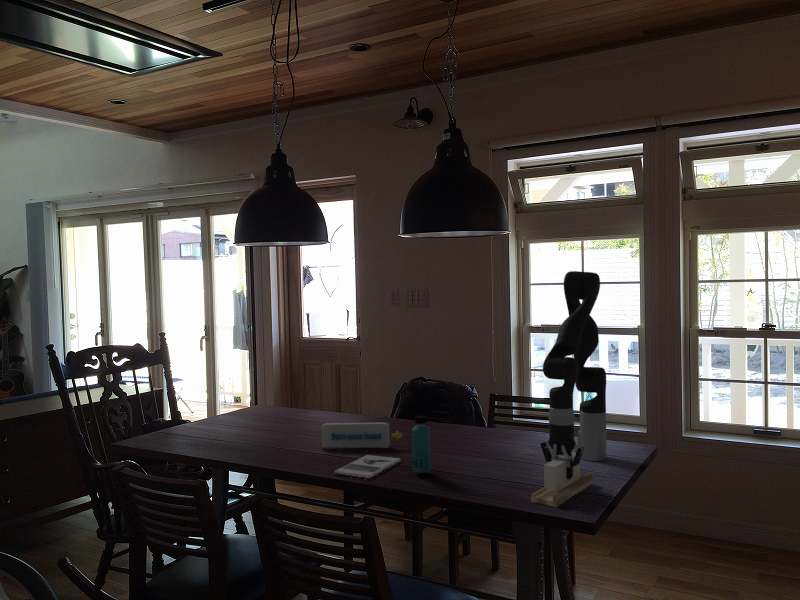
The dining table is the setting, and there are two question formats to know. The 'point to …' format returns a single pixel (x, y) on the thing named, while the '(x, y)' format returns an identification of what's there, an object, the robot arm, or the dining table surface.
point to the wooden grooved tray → (561, 491)
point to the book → (368, 466)
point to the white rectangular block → (558, 473)
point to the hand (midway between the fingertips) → (562, 477)
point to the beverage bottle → (421, 446)
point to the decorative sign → (356, 435)
